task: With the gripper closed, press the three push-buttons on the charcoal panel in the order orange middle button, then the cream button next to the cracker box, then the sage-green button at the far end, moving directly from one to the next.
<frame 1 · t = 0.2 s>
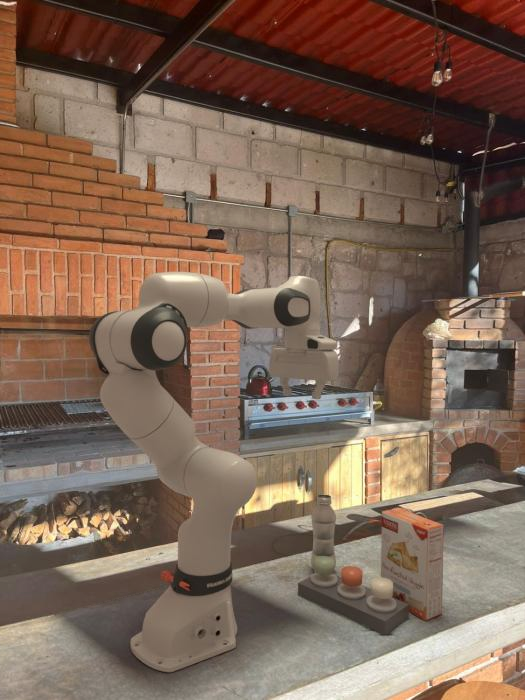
hand: (301, 397, 133), 47 cm above the countertop, tool pointing down, fingers open, 8 cm apart
cracker box: (409, 606, 125), on the countertop
button orange: (351, 576, 124), point 7 cm above the countertop, slide at 0.0 cm
plastic bottle: (323, 571, 142), on the countertop
button panel: (351, 605, 124), on the countertop
button sage: (324, 565, 129), point 7 cm above the countertop, slide at 0.0 cm
button cream: (381, 587, 118), point 7 cm above the countertop, slide at 0.0 cm
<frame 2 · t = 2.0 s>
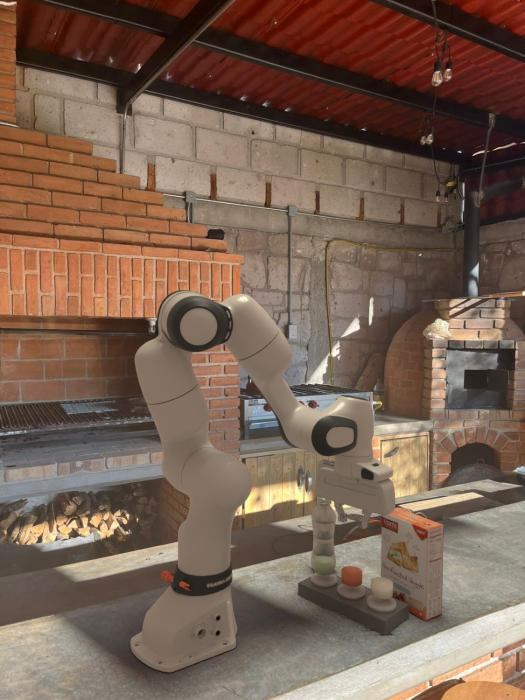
hand: (352, 524, 123), 19 cm above the countertop, tool pointing down, fingers open, 4 cm apart
nothing on the countertop moved.
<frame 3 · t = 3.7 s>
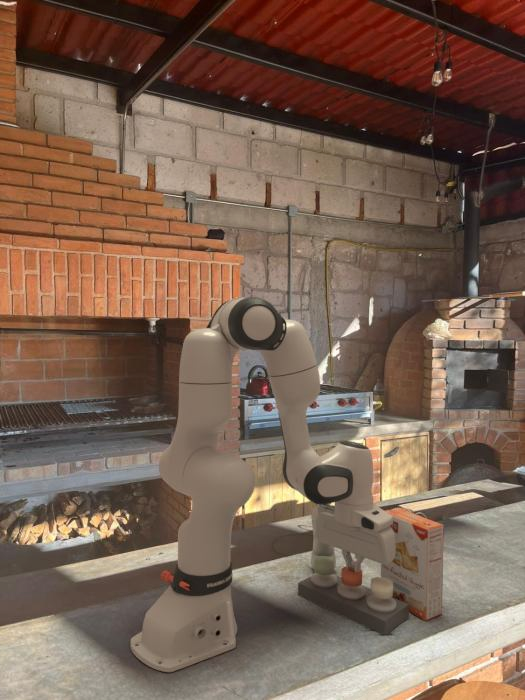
hand: (353, 570, 124), 8 cm above the countertop, tool pointing down, fingers closed, pressing on button orange
button orange: (351, 576, 124), point 7 cm above the countertop, slide at 0.0 cm, touching gripper
everything else where it was.
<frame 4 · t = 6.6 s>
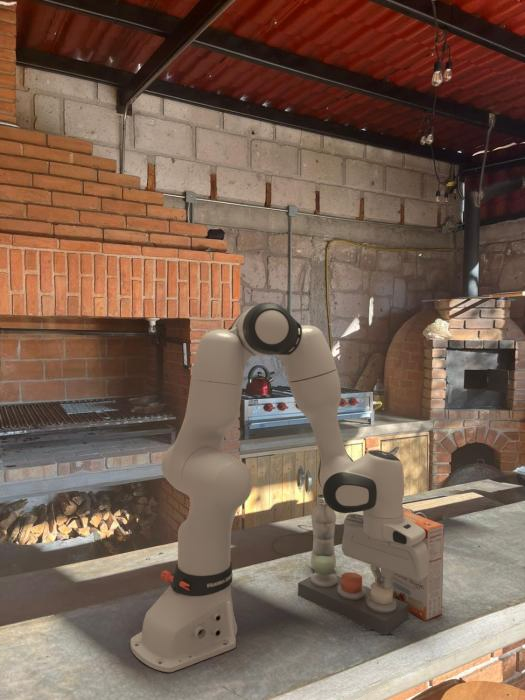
hand: (382, 586, 119), 7 cm above the countertop, tool pointing down, fingers closed, pressing on button cream
button orange: (351, 582, 124), point 5 cm above the countertop, slide at 1.5 cm
button cream: (381, 592, 118), point 6 cm above the countertop, slide at 1.1 cm, touching gripper
everything else where it was.
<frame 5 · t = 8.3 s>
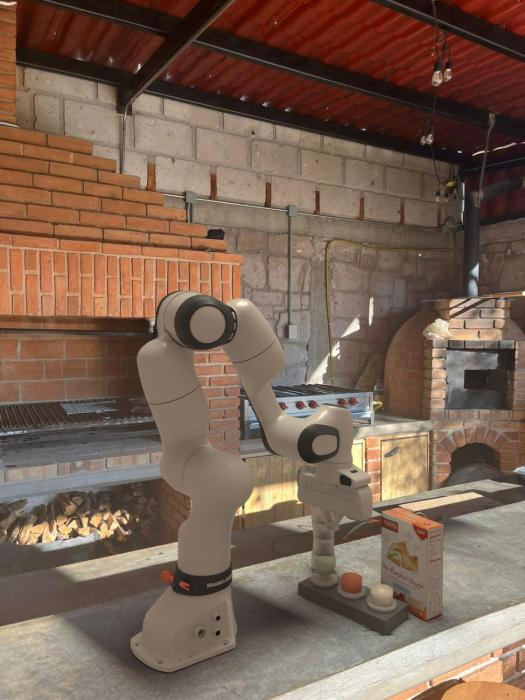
hand: (332, 529, 127), 17 cm above the countertop, tool pointing down, fingers closed
button cream: (381, 594, 118), point 5 cm above the countertop, slide at 1.5 cm
everything else where it was.
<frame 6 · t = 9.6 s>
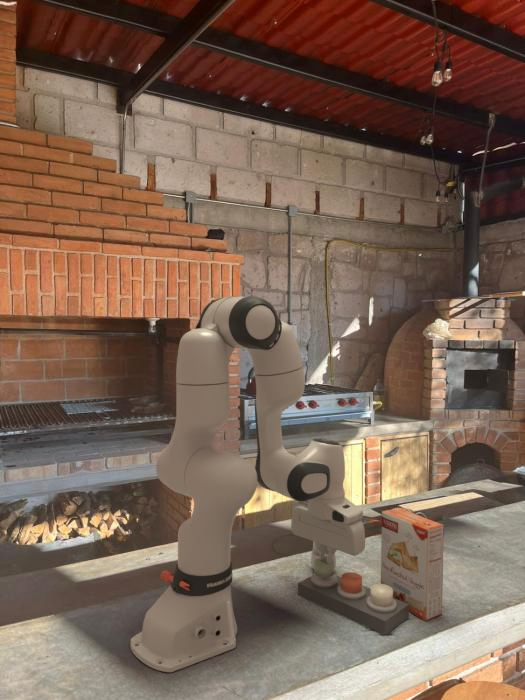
hand: (326, 561, 130), 8 cm above the countertop, tool pointing down, fingers closed, pressing on button sage
button sage: (324, 567, 129), point 6 cm above the countertop, slide at 0.5 cm, touching gripper
everything else where it was.
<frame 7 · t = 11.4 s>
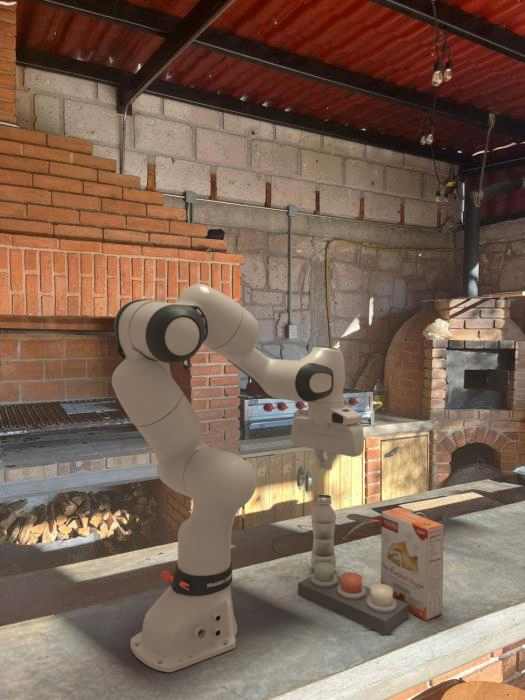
hand: (324, 468, 131), 30 cm above the countertop, tool pointing down, fingers closed
button sage: (324, 571, 129), point 5 cm above the countertop, slide at 1.5 cm
everything else where it was.
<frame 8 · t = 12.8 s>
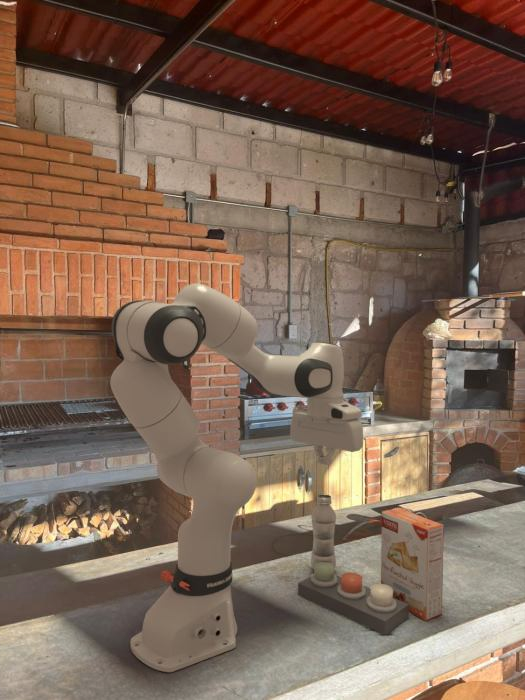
hand: (324, 463, 132), 31 cm above the countertop, tool pointing down, fingers closed
nothing on the countertop moved.
at the end: button orange slide at 1.5 cm; button cream slide at 1.5 cm; button sage slide at 1.5 cm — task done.
